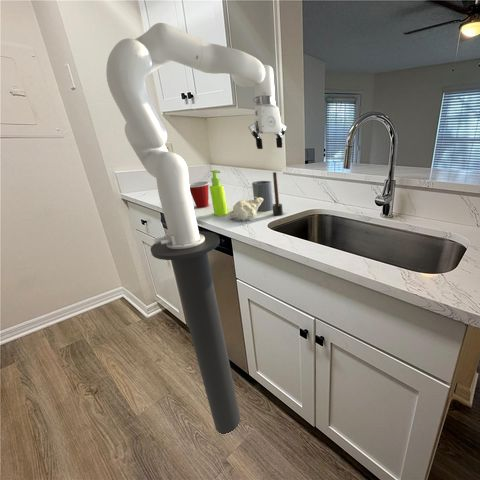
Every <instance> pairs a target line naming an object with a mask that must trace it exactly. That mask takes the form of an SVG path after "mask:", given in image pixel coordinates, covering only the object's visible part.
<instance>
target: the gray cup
mask: <svg viewBox="0 0 480 480" xmlns="http://www.w3.org/2000/svg"><path fill="white" fill-rule="evenodd" d="M251 186H252V187H251V188H252V194H253V200H255V199H256V198H259V197H261V198H263V200H264V201H263V202H262V203H261V205H260V206H259V207H258V210H257V212H267V211H268V212H269V211H273V206H272V205H273V204H274V198H273V197H274V196H273V185H272V181H270V180H257V181H253V182H252V183H251Z"/></svg>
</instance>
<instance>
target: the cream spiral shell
mask: <svg viewBox="0 0 480 480" xmlns="http://www.w3.org/2000/svg"><path fill="white" fill-rule="evenodd" d="M263 201H264V200H263V198H261V197H259V198H256V199H255V200H254V199H250V200H238V201H237V202H236V203H235V204H234V205H233V208H232V210H231V211H228V213H227V214H226V215H227V216H226V217H227V219H229V220H241V221H247V220H248V221H250V220H251V219H253V218H255V217H256V215H257V212H258V211H257V210H258V207H259V206H260V205H261V203H262V202H263Z"/></svg>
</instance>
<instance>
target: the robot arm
mask: <svg viewBox="0 0 480 480" xmlns="http://www.w3.org/2000/svg"><path fill="white" fill-rule="evenodd" d="M169 62H175V63H177V64H180V65H183V66H186V67H189V68H191V69H194V70H197V71H199V72H203V73H205V74H214V75H215V74H226V75H230V77H231V79H232V81H233V83H234V84H235V85H237V86H239V87H241V88H249V87H253V88H254V94H255V97H254V98H253V103H255V107H254V122H253V123H252V124H251V125H249V126H248V130H249V132H250V134H251V135H252V137H253V138H254V139H255V146H256V148H257V150H263V139H262V138H261V137H262V136H263V135H264V134H274V135H275V136H276V138H275V143H276V148H277V149H282V148H283V138H284V135H285V134H286V130H287V126H286V125H284V124H283V123H282V120H281V114H280V110H279V107H278V106H277V104H276V92H275V91H276V90H275V78H274V76H275V75H274V68H273V67H272V65H269V64H263V63H262V62H261V61H260V59H258V58H257V57H255V56H254V55H251V54H249V53H247V52H246V51H243V50H240V49H238V48H233V47H229V46H226V45H225V46H224V45H221V44H217V43H211V42H208V41H206V40H203V39H202V38H199V37H197V36H194V35H193V34H190V33H189V32H186V31H183V30H181V29H179V28H177V27H175V26H172V25H170V24H167V23H164V22H157V23H155V24H153V25H152V26H151V27H149V29H147V31H145V32H144V33H143V34H141V35H140V36H138V37H136V38H135V39H134V38H124V39H121V40H119V41H118V42H117V43H116V44H115V45H114V46H113V48H112V49H111V51H110V52H109V55H108V57H107V62H106V69H105V70H106V73H105V74H106V75H105V76H106V82H107V87H108V89H109V92H110V95H111V97H112V98H113V100H114V102H115V104H116V106H117V108H118V109H119V112H120V113H121V115H122V117H123V119H124V121H125V125H124V134H125V137H126V139H127V141H128V143H129V144H130V146H131V148H132V150H133V151H134V153H135V155H136V157H137V158H138V159H139V161H140V163H141V165H142V166H143V167H144V169H145V170H146V171H147V173H148V174H149V175H150V176H152V177H154V178H155V179H156V186H157V187H156V188H157V193H158V197H159V201H160V205H161V209H162V213H163V217H164V220H165V224H166V228H167V232H166V233H165V235H163V236H162V237H155V238H153V241H154V244H159V243H161V244H166V245H167V247H168V248H170V249H186V248H191V247H194V246H197V245H199V244H201V243H203V242H204V240H205V237H204V236H203V235H201V234H199V231H200V230H199V227H198V221H197V217H196V212H195V206H194V201H193V197H192V195H191V192H190V187H189V184H190V175H189V174H190V173H189V168H188V165H187V162H186V161H185V160H184V159H183V157H182V156H181V155H179V154H177V153H176V152H174V151H169V149H168V148H167V145H166V143H167V141H168V132H167V129H166V127H165V125H164V124H163V122H162V120H161V119H160V116H159V114H158V112H157V110H156V109H155V107H154V105H153V103H152V100H151V98H150V96H149V94H148V91H147V87H146V86H147V85H146V81H147V76H149V75H151V74H152V73H154V72H156V71H158V70H159V69H161V68H162V67H163V66H165V65H167V64H168V63H169Z"/></svg>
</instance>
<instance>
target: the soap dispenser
mask: <svg viewBox="0 0 480 480" xmlns="http://www.w3.org/2000/svg"><path fill="white" fill-rule="evenodd" d="M210 173H212V177H211V178H210V180H211V185H209V191H210V197H211V201H212V208H213V213H214V216H218V217H220V216H225V215H228V213H229V211H228V206H227V199H226V192H225V187H224V185H223V184H221V181H220V177H218V174H220V173H221V171H220V170H217V169H213V170H210Z"/></svg>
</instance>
